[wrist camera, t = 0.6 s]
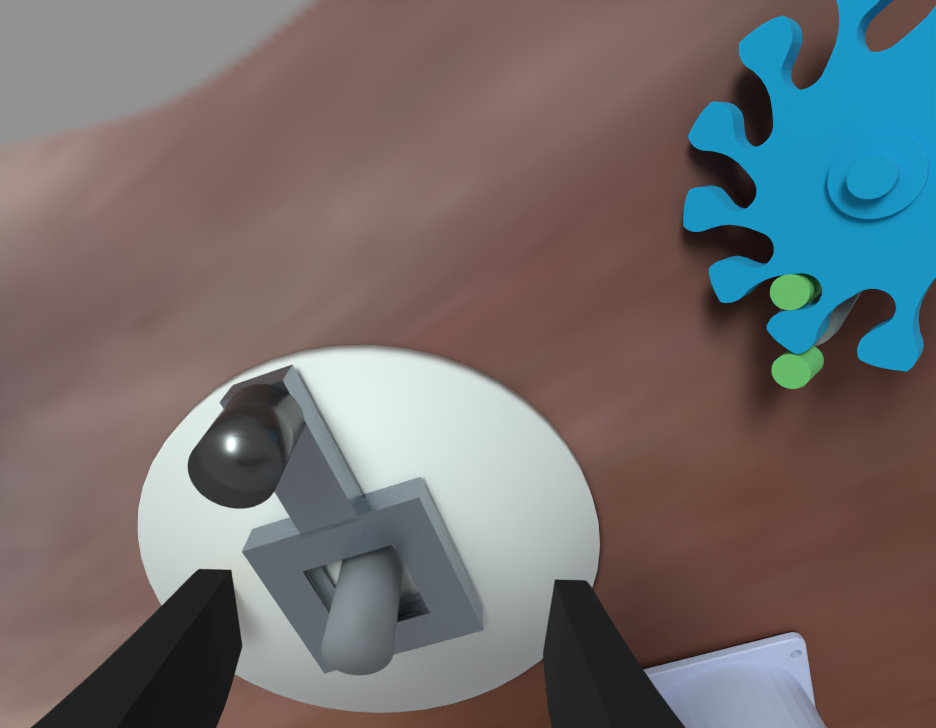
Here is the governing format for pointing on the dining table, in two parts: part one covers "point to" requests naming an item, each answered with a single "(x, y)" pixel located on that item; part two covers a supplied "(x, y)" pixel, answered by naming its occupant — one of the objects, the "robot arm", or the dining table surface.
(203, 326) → the dining table surface
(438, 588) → the crank handle
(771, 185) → the gear
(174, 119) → the dining table surface
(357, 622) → the base plate
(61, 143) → the dining table surface
